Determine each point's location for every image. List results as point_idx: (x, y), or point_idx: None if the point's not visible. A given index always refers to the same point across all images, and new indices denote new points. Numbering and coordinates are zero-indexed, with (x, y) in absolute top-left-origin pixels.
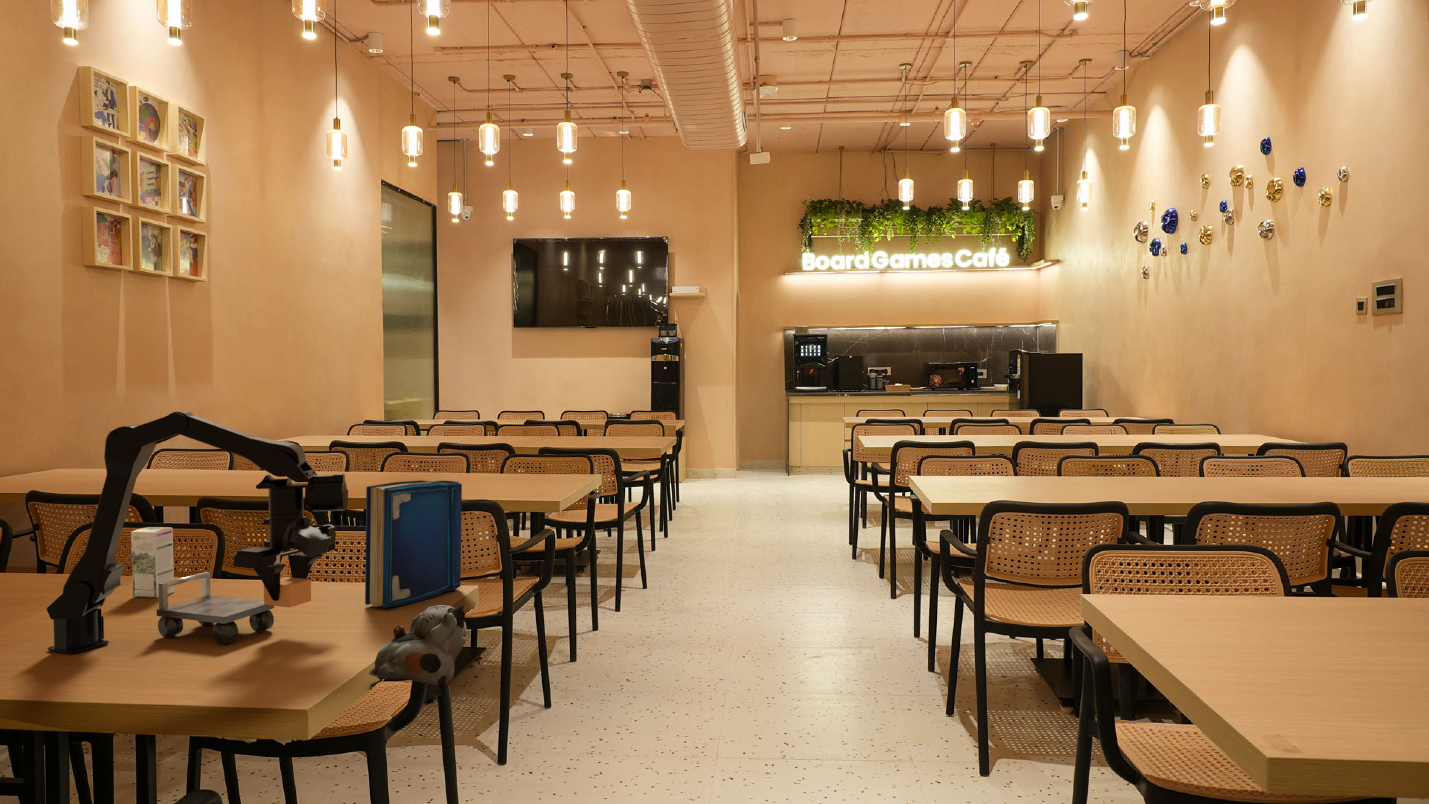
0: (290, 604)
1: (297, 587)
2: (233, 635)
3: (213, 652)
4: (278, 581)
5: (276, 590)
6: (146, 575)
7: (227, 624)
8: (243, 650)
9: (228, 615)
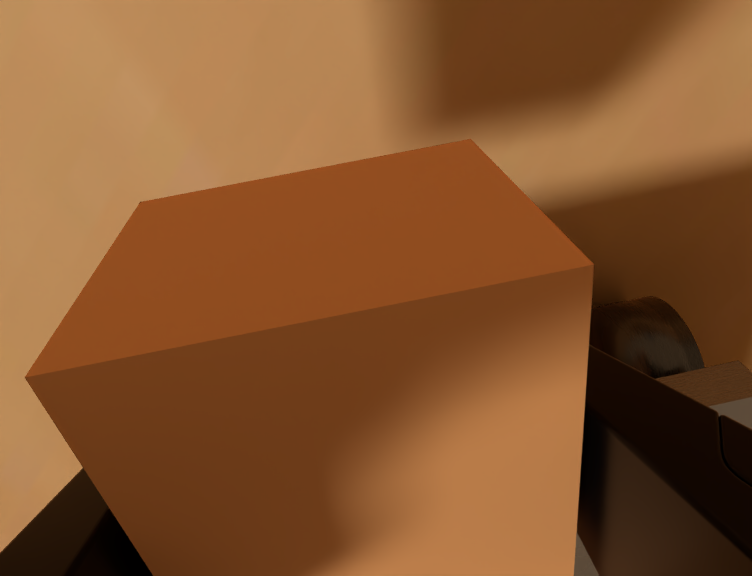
0: (465, 152)
1: (379, 259)
2: (636, 305)
3: (738, 244)
4: (693, 450)
5: (621, 364)
6: None
7: (694, 366)
8: (676, 136)
9: (732, 405)
